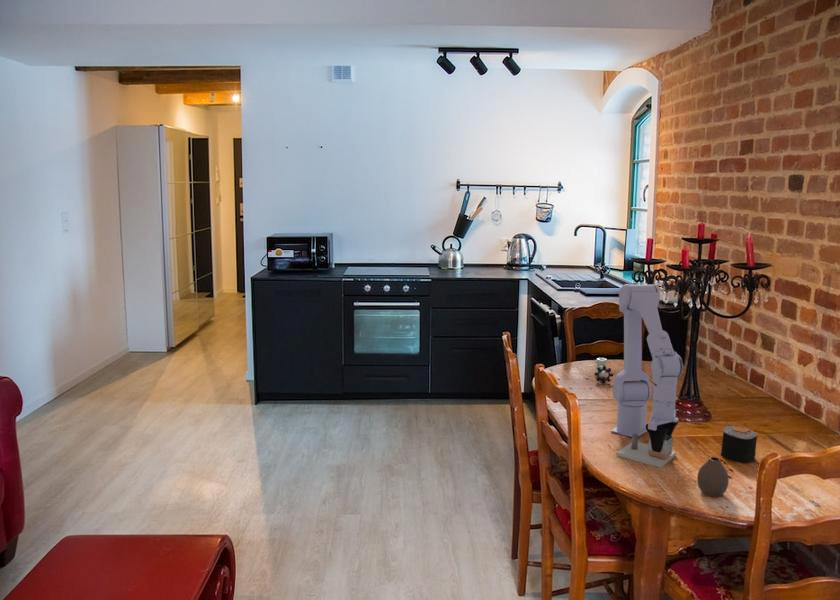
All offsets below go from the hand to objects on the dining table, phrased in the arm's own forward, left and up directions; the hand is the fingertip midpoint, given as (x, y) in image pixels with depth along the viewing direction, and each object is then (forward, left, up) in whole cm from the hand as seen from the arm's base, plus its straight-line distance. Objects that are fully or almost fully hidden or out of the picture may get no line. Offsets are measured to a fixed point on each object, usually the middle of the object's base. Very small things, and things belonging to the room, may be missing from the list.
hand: (659, 448), depth 192 cm
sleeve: (0, 0, -2) cm, 2 cm away
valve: (-60, -45, -3) cm, 76 cm away
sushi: (-16, +16, -3) cm, 23 cm away
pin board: (0, -3, -3) cm, 5 cm away
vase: (+12, +18, -3) cm, 21 cm away
